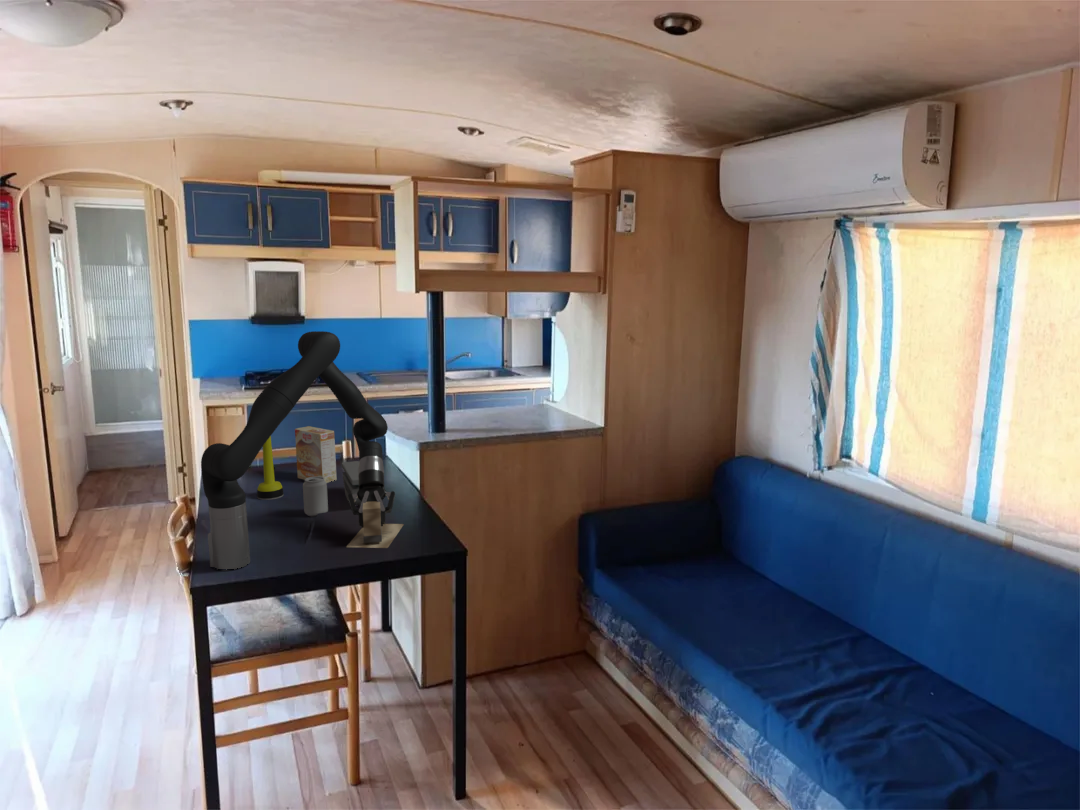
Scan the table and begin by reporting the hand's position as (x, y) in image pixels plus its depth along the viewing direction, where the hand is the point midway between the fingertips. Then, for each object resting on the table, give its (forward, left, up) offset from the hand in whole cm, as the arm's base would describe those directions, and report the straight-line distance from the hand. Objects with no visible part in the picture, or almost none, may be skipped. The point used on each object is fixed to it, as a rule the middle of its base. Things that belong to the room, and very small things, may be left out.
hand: (372, 525), depth 212 cm
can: (-26, +27, -6) cm, 39 cm away
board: (0, +5, -6) cm, 8 cm away
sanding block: (0, +2, -4) cm, 5 cm away
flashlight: (-49, +45, -6) cm, 67 cm away
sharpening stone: (-16, +42, -6) cm, 46 cm away
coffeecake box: (-40, +67, -6) cm, 79 cm away
